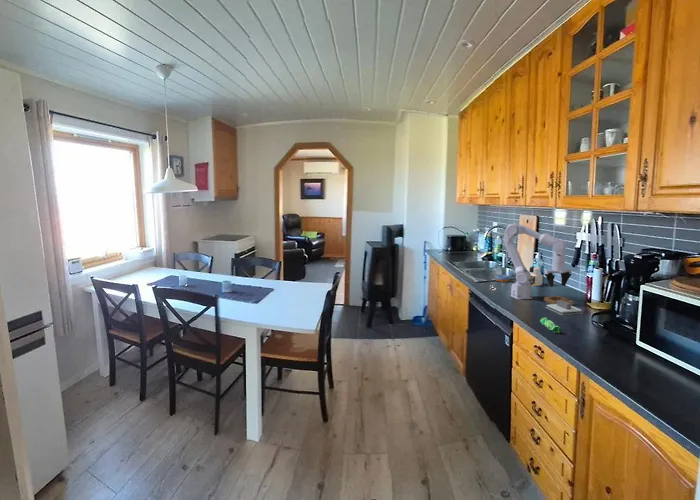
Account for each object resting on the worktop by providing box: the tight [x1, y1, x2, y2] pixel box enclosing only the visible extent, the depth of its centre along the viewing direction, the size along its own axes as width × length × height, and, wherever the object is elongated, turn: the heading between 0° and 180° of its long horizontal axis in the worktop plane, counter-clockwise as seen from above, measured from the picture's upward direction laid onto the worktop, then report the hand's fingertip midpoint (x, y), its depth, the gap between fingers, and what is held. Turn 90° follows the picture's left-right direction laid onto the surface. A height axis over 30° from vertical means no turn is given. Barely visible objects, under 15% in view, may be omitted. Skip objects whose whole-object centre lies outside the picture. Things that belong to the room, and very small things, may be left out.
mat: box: [545, 306, 584, 316], centre depth 178 cm, size 12×12×1 cm
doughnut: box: [494, 274, 511, 283], centre depth 241 cm, size 10×10×5 cm
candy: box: [539, 316, 562, 334], centre depth 155 cm, size 12×3×4 cm
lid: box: [546, 300, 582, 313], centre depth 178 cm, size 11×11×4 cm
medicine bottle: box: [528, 266, 544, 287], centre depth 229 cm, size 7×7×12 cm
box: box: [543, 295, 574, 307], centre depth 190 cm, size 10×10×2 cm
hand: (557, 286), depth 190 cm, fingers open, 7 cm apart
